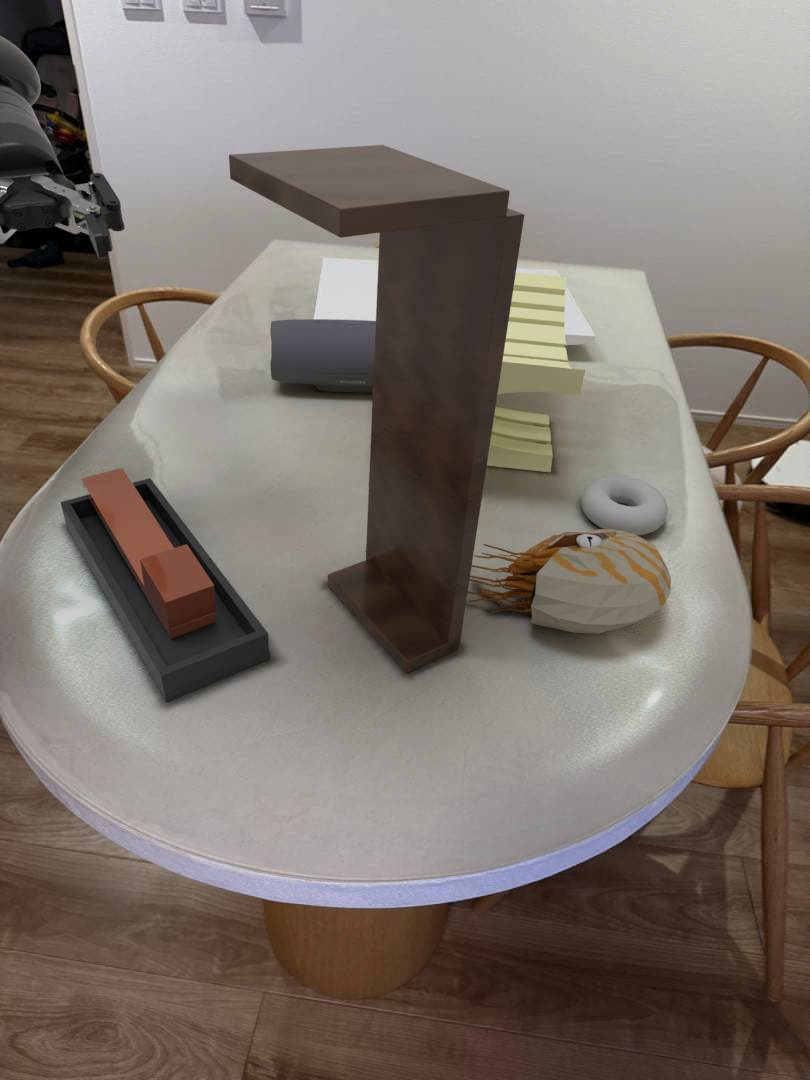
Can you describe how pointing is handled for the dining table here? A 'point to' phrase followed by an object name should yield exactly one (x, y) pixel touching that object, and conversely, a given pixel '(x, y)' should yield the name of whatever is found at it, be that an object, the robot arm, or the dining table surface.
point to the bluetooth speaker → (324, 353)
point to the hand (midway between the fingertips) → (47, 255)
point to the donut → (637, 517)
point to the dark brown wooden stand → (415, 370)
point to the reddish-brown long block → (153, 555)
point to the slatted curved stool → (532, 372)
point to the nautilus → (584, 580)
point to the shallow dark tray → (167, 660)
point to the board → (355, 296)
